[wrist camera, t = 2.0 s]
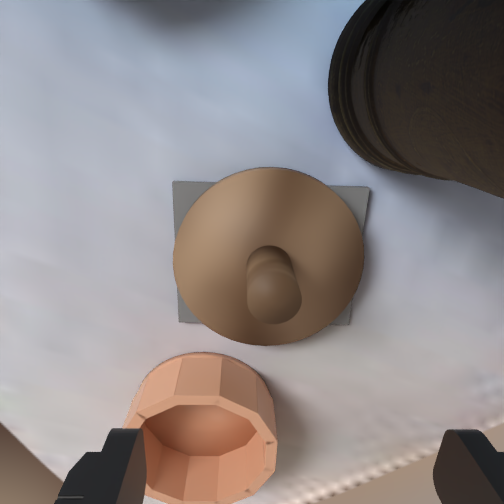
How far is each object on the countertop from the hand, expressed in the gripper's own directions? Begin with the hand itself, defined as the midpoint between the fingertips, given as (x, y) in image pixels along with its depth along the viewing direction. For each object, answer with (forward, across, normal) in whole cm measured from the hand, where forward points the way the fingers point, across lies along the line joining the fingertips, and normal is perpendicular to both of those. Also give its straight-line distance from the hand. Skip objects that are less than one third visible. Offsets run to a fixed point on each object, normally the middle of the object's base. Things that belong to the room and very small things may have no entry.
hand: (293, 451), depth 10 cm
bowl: (+14, +4, +12) cm, 19 cm away
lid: (+13, 0, 0) cm, 13 cm away
